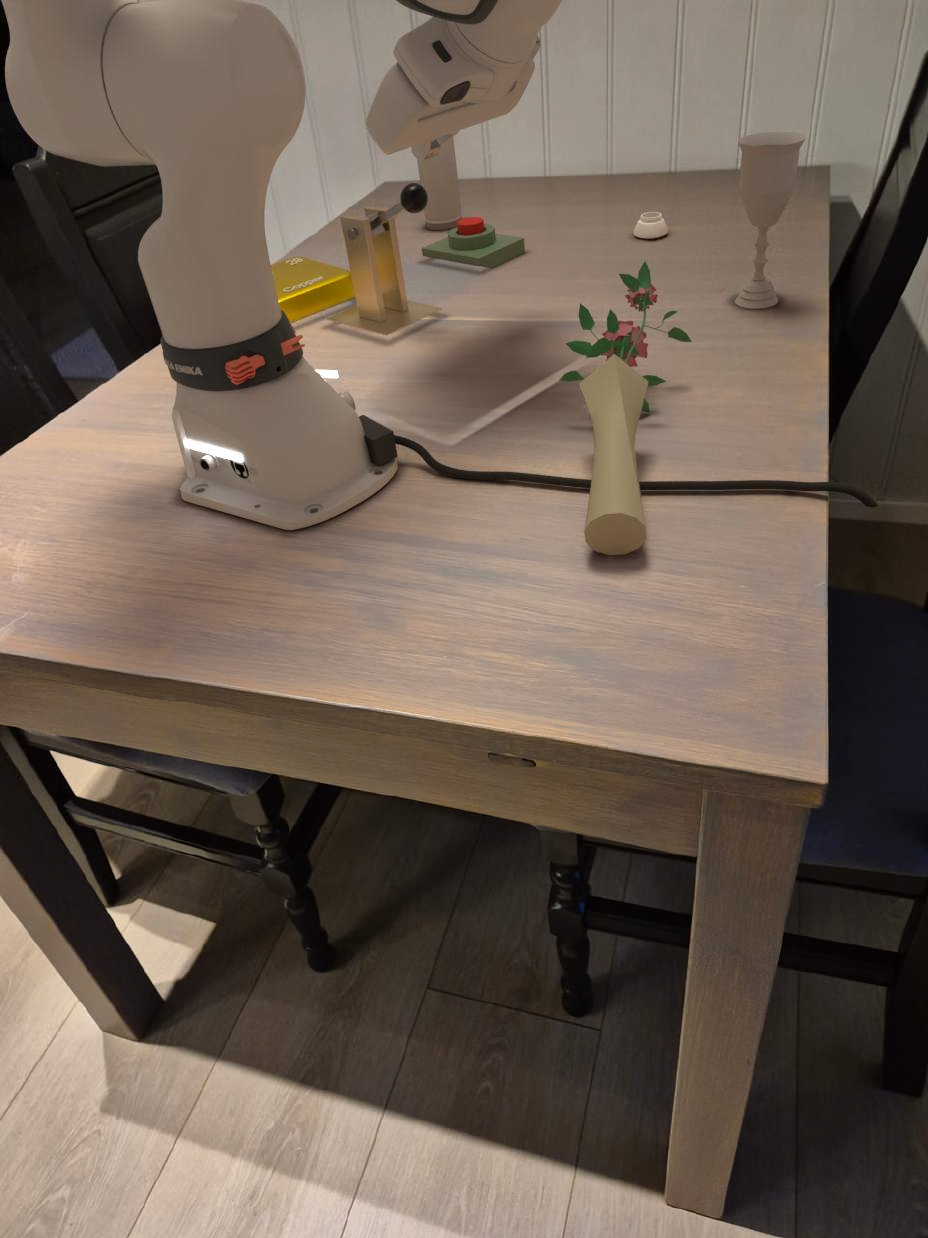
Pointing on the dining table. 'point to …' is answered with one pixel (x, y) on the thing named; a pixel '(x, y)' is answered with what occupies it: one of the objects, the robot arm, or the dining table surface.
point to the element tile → (310, 286)
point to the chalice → (766, 199)
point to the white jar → (650, 226)
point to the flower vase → (617, 420)
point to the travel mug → (441, 189)
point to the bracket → (377, 278)
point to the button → (470, 226)
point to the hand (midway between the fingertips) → (424, 153)
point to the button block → (476, 248)
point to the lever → (400, 207)
